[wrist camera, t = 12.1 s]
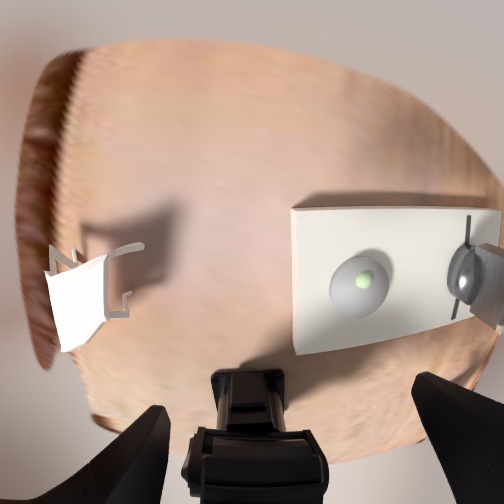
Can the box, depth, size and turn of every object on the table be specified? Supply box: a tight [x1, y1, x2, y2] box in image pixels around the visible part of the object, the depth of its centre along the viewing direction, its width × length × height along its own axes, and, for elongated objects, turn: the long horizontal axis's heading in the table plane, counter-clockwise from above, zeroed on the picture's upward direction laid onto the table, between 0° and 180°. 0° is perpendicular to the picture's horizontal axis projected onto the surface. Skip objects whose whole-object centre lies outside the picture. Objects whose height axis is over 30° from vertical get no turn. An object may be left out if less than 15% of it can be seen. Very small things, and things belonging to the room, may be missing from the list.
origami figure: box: [44, 242, 145, 352], centre depth 18 cm, size 12×8×5 cm
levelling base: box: [291, 206, 501, 355], centre depth 19 cm, size 11×22×4 cm, turn 93°
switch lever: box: [447, 243, 504, 335], centre depth 16 cm, size 5×6×6 cm
